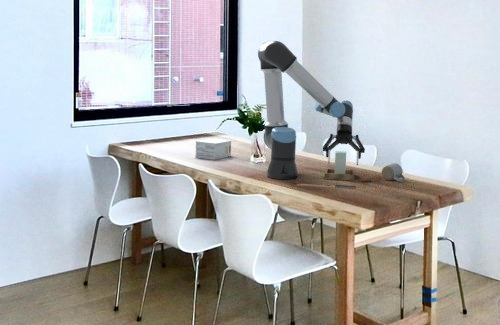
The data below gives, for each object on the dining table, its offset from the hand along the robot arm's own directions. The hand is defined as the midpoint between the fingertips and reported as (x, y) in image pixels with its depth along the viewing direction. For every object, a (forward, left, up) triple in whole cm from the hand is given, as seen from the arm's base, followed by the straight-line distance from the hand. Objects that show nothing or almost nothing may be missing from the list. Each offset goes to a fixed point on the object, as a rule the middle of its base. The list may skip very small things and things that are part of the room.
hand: (343, 163), depth 326 cm
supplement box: (-86, +3, -8) cm, 87 cm away
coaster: (+11, -15, -8) cm, 20 cm away
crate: (0, -2, -8) cm, 8 cm away
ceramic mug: (+20, +15, -8) cm, 26 cm away
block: (0, -2, -7) cm, 7 cm away
